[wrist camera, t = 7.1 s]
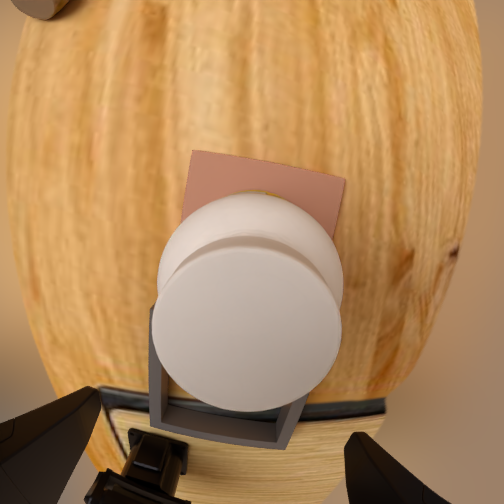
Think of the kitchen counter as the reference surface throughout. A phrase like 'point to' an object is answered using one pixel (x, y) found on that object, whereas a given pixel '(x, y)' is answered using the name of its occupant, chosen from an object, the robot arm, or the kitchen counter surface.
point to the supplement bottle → (248, 303)
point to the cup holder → (214, 424)
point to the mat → (262, 185)
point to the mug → (40, 7)
